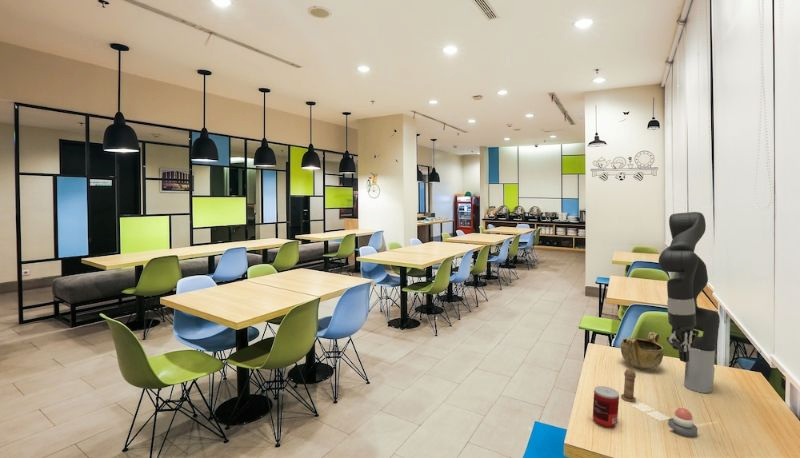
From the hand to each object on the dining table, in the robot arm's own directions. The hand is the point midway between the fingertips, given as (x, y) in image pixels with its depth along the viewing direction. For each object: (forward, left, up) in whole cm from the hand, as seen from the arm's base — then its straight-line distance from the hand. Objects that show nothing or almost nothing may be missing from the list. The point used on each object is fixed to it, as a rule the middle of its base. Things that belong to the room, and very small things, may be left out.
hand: (684, 361), depth 134 cm
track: (+1, -13, -23) cm, 27 cm away
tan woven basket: (-33, -42, -24) cm, 58 cm away
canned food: (+21, -11, -24) cm, 34 cm away
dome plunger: (0, +1, -21) cm, 21 cm away
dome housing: (0, +1, -23) cm, 23 cm away
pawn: (+1, -19, -22) cm, 29 cm away
